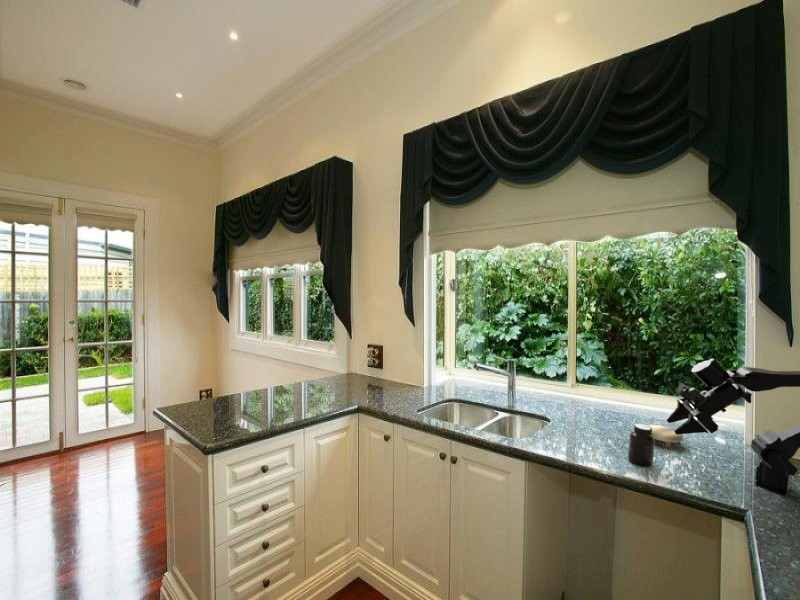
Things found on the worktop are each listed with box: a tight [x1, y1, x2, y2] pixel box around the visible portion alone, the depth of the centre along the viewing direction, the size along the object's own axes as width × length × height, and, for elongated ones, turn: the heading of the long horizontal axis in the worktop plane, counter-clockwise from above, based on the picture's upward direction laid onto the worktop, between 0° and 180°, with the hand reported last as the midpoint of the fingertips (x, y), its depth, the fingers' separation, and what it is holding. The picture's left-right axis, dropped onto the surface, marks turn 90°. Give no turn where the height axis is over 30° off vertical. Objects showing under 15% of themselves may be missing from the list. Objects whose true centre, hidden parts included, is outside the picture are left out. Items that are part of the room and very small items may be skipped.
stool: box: [647, 424, 684, 449], centre depth 138 cm, size 12×12×4 cm
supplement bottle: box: [627, 423, 656, 468], centre depth 122 cm, size 7×7×12 cm
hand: (671, 427), depth 119 cm, fingers open, 9 cm apart
